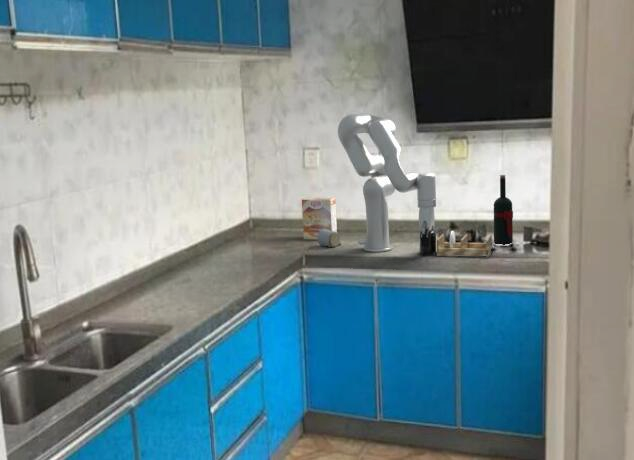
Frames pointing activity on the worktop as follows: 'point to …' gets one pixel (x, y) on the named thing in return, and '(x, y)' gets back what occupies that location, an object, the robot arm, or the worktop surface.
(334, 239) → the ceramic mug
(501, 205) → the wine bottle
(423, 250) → the supplement bottle
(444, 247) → the rack
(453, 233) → the plate
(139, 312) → the worktop surface
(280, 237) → the worktop surface
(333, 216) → the coffeecake box
